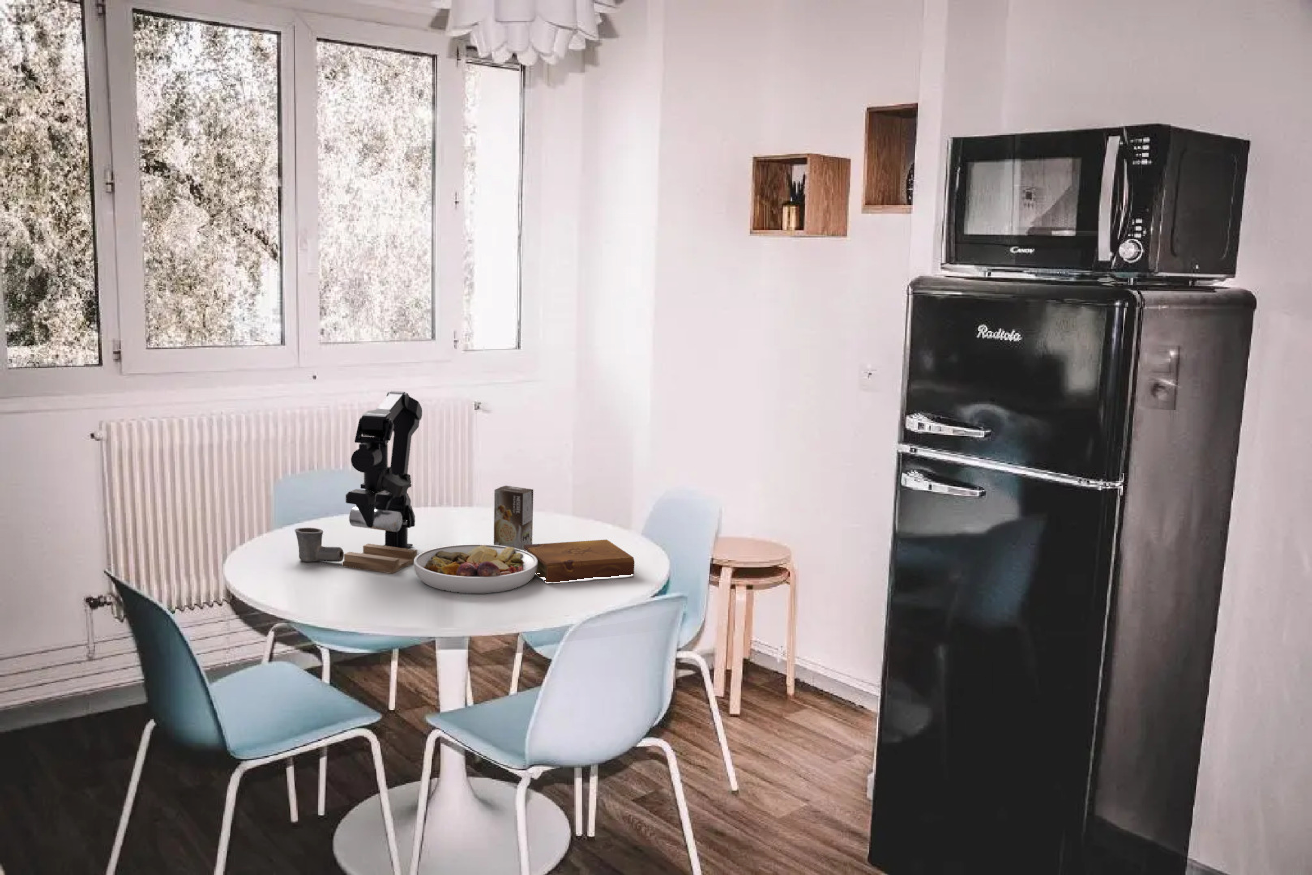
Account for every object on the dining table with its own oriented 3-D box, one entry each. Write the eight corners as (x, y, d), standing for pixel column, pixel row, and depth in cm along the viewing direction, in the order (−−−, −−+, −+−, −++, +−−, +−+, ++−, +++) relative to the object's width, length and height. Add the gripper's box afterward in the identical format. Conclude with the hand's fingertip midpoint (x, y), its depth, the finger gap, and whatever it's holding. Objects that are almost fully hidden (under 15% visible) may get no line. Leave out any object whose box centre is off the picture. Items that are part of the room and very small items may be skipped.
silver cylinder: (359, 523, 299) (359, 504, 298) (402, 529, 296) (402, 509, 295) (349, 528, 294) (349, 508, 293) (392, 534, 291) (392, 514, 290)
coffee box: (533, 546, 322) (535, 489, 319) (522, 551, 316) (523, 493, 314) (503, 542, 325) (505, 484, 323) (492, 547, 320) (493, 489, 317)
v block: (369, 554, 307) (369, 542, 307) (418, 560, 303) (418, 549, 303) (342, 566, 295) (342, 554, 294) (392, 573, 291) (392, 561, 290)
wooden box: (547, 587, 288) (547, 564, 287) (523, 566, 305) (523, 544, 304) (633, 579, 297) (634, 557, 296) (606, 559, 314) (606, 538, 313)
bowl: (402, 567, 298) (402, 536, 297) (516, 559, 310) (517, 530, 309) (429, 602, 271) (429, 569, 270) (553, 592, 283) (554, 560, 282)
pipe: (336, 567, 294) (336, 535, 293) (289, 561, 297) (289, 531, 295) (347, 560, 300) (347, 530, 299) (301, 555, 303) (301, 525, 301)
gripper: (385, 474, 281) (385, 537, 284) (423, 460, 298) (422, 519, 301) (344, 469, 284) (344, 532, 287) (384, 455, 302) (384, 514, 305)
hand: (375, 524), depth 295 cm, fingers closed on silver cylinder, 5 cm apart
